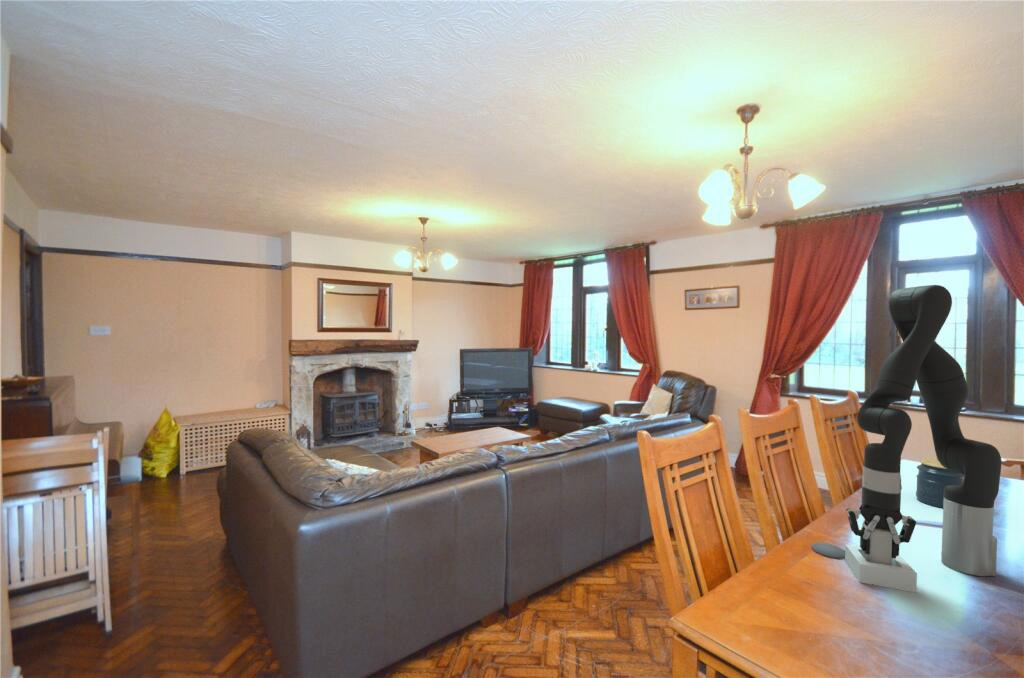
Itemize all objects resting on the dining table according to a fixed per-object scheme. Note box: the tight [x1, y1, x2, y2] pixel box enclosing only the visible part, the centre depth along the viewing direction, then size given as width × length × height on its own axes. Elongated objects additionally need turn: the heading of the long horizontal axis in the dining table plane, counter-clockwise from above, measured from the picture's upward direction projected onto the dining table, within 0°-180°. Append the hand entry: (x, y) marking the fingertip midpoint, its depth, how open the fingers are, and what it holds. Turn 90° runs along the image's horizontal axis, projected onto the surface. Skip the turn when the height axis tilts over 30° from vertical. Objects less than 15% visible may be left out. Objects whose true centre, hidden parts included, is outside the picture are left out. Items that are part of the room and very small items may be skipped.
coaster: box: [811, 542, 845, 560], centre depth 126 cm, size 8×8×1 cm
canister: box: [915, 456, 965, 509], centre depth 163 cm, size 13×13×18 cm
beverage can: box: [866, 528, 892, 566], centre depth 113 cm, size 5×5×12 cm
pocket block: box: [844, 543, 918, 593], centre depth 114 cm, size 11×11×4 cm
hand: (878, 554), depth 114 cm, fingers closed on beverage can, 4 cm apart
